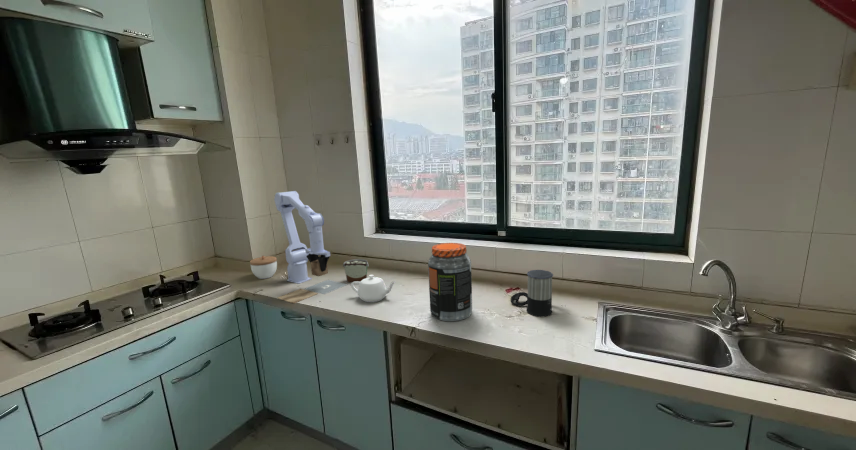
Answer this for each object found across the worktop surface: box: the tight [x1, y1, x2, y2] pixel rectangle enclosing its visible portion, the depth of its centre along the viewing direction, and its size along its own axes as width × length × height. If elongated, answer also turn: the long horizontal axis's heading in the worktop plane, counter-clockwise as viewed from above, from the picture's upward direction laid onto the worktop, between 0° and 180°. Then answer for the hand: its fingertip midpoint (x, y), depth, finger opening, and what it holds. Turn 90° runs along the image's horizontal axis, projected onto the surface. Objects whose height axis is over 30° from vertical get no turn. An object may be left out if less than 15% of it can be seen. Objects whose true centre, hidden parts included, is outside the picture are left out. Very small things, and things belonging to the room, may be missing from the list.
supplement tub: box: [427, 242, 473, 322], centre depth 133 cm, size 16×16×26 cm
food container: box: [342, 258, 369, 283], centre depth 175 cm, size 12×6×10 cm, turn 84°
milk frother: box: [510, 269, 554, 317], centre depth 136 cm, size 14×16×15 cm
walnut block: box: [310, 260, 329, 277], centre depth 165 cm, size 5×5×6 cm
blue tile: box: [304, 279, 348, 295], centre depth 168 cm, size 14×14×1 cm
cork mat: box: [277, 288, 319, 305], centre depth 158 cm, size 12×12×1 cm
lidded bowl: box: [249, 255, 278, 280], centre depth 186 cm, size 13×13×11 cm
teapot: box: [350, 274, 396, 303], centre depth 152 cm, size 20×12×10 cm, turn 76°
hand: (319, 270), depth 165 cm, fingers closed on walnut block, 5 cm apart
